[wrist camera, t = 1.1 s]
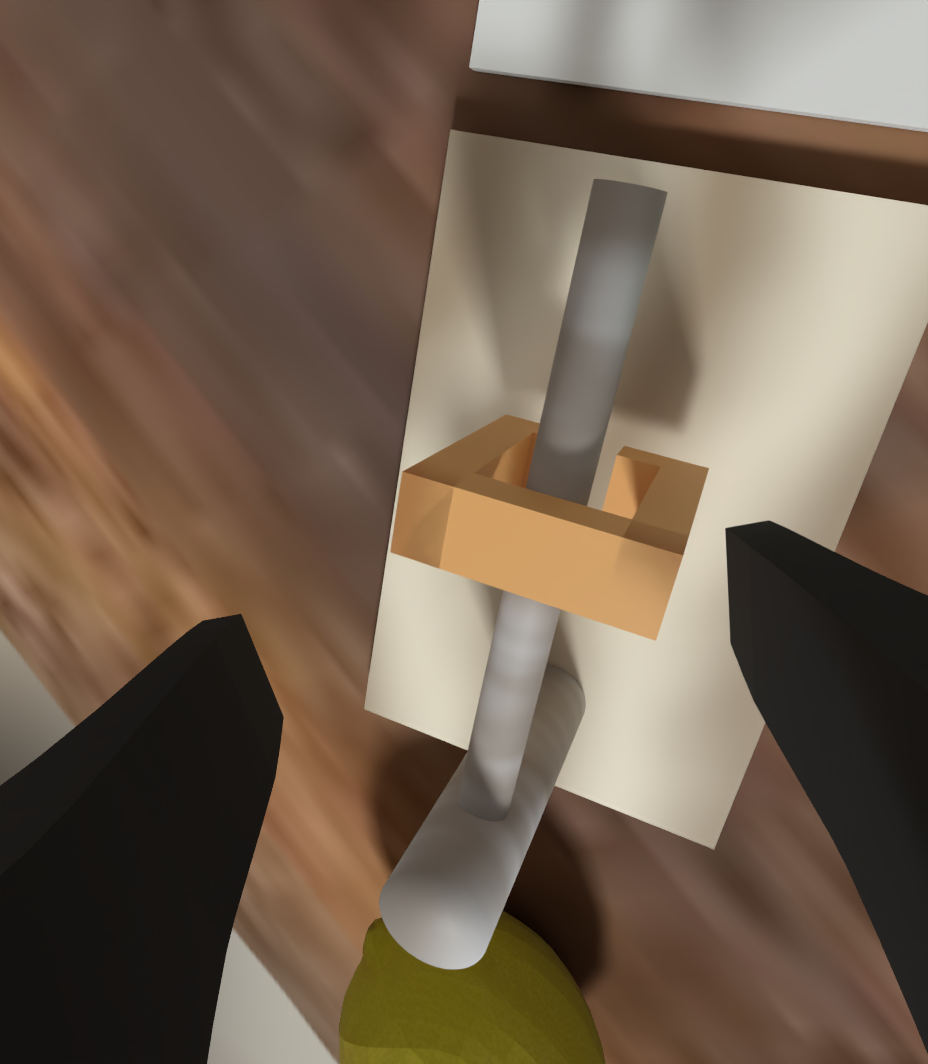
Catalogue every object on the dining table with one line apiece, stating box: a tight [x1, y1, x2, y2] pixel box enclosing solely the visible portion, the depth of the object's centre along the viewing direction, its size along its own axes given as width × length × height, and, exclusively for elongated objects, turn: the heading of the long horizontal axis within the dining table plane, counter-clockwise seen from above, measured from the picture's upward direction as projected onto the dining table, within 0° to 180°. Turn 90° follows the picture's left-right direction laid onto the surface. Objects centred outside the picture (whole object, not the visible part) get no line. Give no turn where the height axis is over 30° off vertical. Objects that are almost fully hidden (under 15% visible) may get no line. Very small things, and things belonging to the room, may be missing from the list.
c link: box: [390, 414, 709, 641], centre depth 16 cm, size 5×2×6 cm, turn 79°
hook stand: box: [364, 129, 928, 969], centre depth 17 cm, size 12×18×10 cm, turn 169°
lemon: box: [339, 911, 606, 1064], centre depth 25 cm, size 11×8×8 cm
